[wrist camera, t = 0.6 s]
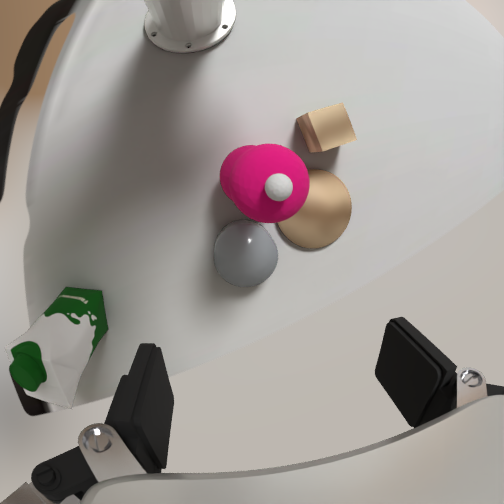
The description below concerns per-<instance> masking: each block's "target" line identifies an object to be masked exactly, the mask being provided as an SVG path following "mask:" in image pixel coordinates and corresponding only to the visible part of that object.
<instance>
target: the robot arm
mask: <svg viewBox="0 0 504 504" xmlns="http://www.w3.org/2000/svg"><path fill="white" fill-rule="evenodd" d="M144 1H145V3H146V6H147V8H148V12H147V14H146V17H145V30H146V33H147V35H148V37H149V39H150V40H151V41H152V42H153V43H154V44H155V45H156V46H158V47H159V48H162V49H164V50H166V51H170V52H176V53H189V52H196V51H201V50H203V49H206V48H209V47H211V46H213V45H215V44H217V43H218V42H220V41H221V40H222V39H224V38H225V37H226V36H227V34H228V33H229V32H230V31H231V29H232V28H233V25H234V22H235V18H236V8H235V5H234V3H233V1H232V0H144ZM224 28H226V29H224ZM155 35H156V36H155ZM189 46H190V48H188V47H189ZM456 368H457V366H456V365H455V364H454V363H453V362H452V361H451V360H450V359H449V358H448V357H447V356H446V355H444V354H443V353H442V352H441V351H440V350H439V349H438V348H437V347H436V346H435V345H434V344H433V343H431V342H430V341H429V340H428V339H427V338H426V337H425V336H424V335H423V334H421V332H420V331H418V330H417V329H416V328H415V327H414V326H413V325H412V324H411V323H409V322H408V321H407V320H406V319H405V318H403V317H399V318H394V319H391V320H390V321H389V323H387V325H386V328H385V333H384V337H383V341H382V345H381V349H380V354H379V357H378V361H377V365H376V369H375V375H376V378H377V379H378V381H379V382H380V383H381V385H382V386H383V388H384V389H385V391H386V392H387V393H388V395H389V396H390V398H391V399H392V400H393V402H394V403H395V405H396V406H397V408H398V409H399V411H400V412H401V414H402V415H403V417H404V418H405V419H406V421H407V422H408V424H409V425H410V426H411V427H414V429H411V430H409V431H407V432H404V433H402V434H399V435H397V436H394V437H392V438H389V439H386V440H383V441H381V442H378V443H375V444H372V445H369V446H366V447H362V448H359V449H356V450H353V451H349V452H346V453H342V454H338V455H334V456H331V457H326V458H323V459H318V460H313V461H309V462H304V463H298V464H293V465H287V466H281V467H274V468H267V469H258V470H248V471H237V472H221V473H161V469H165V468H166V465H167V455H168V445H169V437H170V429H171V421H172V413H173V406H174V396H173V392H172V389H171V386H170V382H169V378H168V374H167V371H166V367H165V363H164V359H163V355H162V351H161V348H160V347H156V345H155V344H154V343H141V344H140V345H139V348H138V350H137V353H136V356H135V358H134V361H133V363H132V366H131V369H130V371H129V374H128V375H123V376H122V378H121V380H120V382H119V385H118V387H117V390H116V393H115V395H114V398H113V401H112V404H111V406H110V409H109V412H108V415H107V417H106V420H105V423H104V424H102V423H97V424H92V425H89V426H87V427H86V428H84V429H83V430H82V431H81V433H80V435H79V437H78V444H79V446H77V447H76V448H73V449H71V450H69V451H67V452H65V453H63V454H60V455H58V456H56V457H54V458H52V459H49V460H47V461H45V462H42V463H40V464H39V465H37V466H36V467H35V468H34V470H33V472H32V477H31V479H32V482H31V483H30V484H28V483H27V482H25V483H24V484H23V485H22V486H21V487H20V488H18V489H17V490H16V491H15V492H13V493H12V494H11V495H10V496H8V497H7V498H6V499H5V500H4V501H3V502H1V503H0V504H504V387H503V386H497V385H491V384H486V380H485V377H484V375H483V374H482V373H481V372H480V371H478V370H476V369H474V368H463V369H461V370H460V371H459V372H458V374H457V373H456V372H455V370H456Z"/></svg>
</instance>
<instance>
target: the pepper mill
mask: <svg viewBox="0 0 504 504" xmlns="http://www.w3.org/2000/svg"><path fill="white" fill-rule="evenodd" d="M220 182H221V186H222V188H223V190H224V192H225V194H226V195H227V196H228V197H229V198H230V199H231V200H232V201H233V202H234V203H235V205H236V206H237V208H238V209H239V210H240V211H241V212H242V213H243V214H245V215H246V216H247V217H249V218H251V219H253V220H255V221H258V222H262V223H276V222H281V221H284V220H287V219H289V218H290V217H292V216H293V215H295V214H296V213H297V212H298V211H299V210H300V209H301V208H302V206H303V205H304V203H305V201H306V199H307V196H308V193H309V188H310V179H309V175H308V171H307V168H306V166H305V164H304V162H303V161H302V160H301V158H300V157H299V156H298V155H297V154H295V153H294V152H293V151H291V150H290V149H288V148H286V147H284V146H281V145H277V144H262V145H258V146H254V145H247V146H242V147H240V148H237V149H235V150H234V151H232V152H231V153H230V154H229V155H228V156H227V157H226V159H225V160H224V162H223V164H222V166H221V170H220Z"/></svg>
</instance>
